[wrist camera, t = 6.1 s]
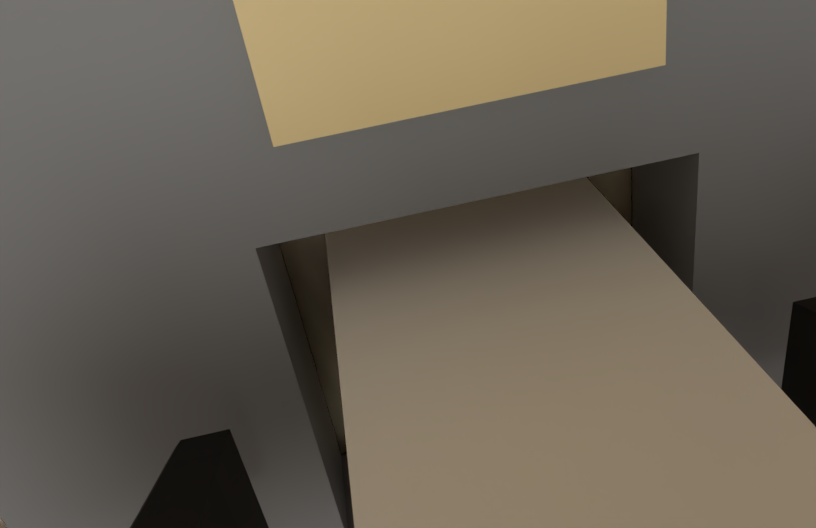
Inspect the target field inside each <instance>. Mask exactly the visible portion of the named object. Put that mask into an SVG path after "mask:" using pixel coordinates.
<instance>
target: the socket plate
mask: <svg viewBox="0 0 816 528" xmlns="http://www.w3.org/2000/svg"><path fill="white" fill-rule="evenodd" d="M631 167H632V227H633V229H634V230H635V231H636V232H637V233H638V234H639V235H640V236H641V237H642V238H643V239H644V240H645V242H646V243H647V244H648V245H649V246H650V247H651V248H652V249H653V250H654V251H655V252H656V254H657V255H658V256H659V257H660V258H661V259H662V260H663V261H664V262H665V263H666V264H667V266H668V267H669V268H670V269H671V270H672V271H673V272H674V273H675V274H676V275H677V276H678V278H679V279H680V280H681V281H682V282H683V283H684V284H685V285H686V286H687V287H688V288H689V289H690V291H691V292H692V293H693V294H694V295H695V296H696V297H697V298H698V299H699V300H700V301H701V303H702V304H703V305H704V306H705V307H706V308H707V309H708V310H709V311H710V312H711V313H712V315H713V316H714V317H715V318H716V319H717V320H718V321H719V322H720V323H721V324H722V325H723V326H724V328H725V329H726V330H727V331H728V332H729V333H730V334H731V335H732V336H733V337H734V338H735V340H736V341H737V342H738V343H739V344H740V345H741V346H742V347H743V348H744V349H745V350H746V352H747V353H748V354H749V355H750V356H751V357H752V358H753V359H754V360H755V361H756V362H757V364H758V365H759V366H760V367H761V368H762V369H763V370H764V371H765V372H766V373H767V374H768V375H769V377H770V378H771V379H772V380H773V381H774V382H775V383H776V384H777V385H778V386H779V387H780V389H781V386H782V379H783V371H784V364H785V357H786V349H787V342H788V334H789V327H790V320H791V312H792V305H793V302H795V301H799V300H804V299H808V298H813V297H816V0H0V517H1V519H2V520H3V522H4V523H5V525H6V526H7V528H130V527H131V525H132V523H133V521H134V520H135V518H136V516H137V514H138V513H139V511H140V509H141V507H142V506H143V504H144V502H145V500H146V498H147V497H148V495H149V493H150V491H151V490H152V488H153V486H154V484H155V482H156V481H157V479H158V477H159V475H160V473H161V472H162V470H163V468H164V466H165V464H166V463H167V461H168V459H169V457H170V456H171V454H172V452H173V450H174V449H175V447H176V446H177V444H178V443H179V442H180V440H183V439H188V438H192V437H196V436H201V435H205V434H210V433H214V432H219V431H223V430H227V429H230V431H231V434H232V436H233V439H234V441H235V444H236V446H237V449H238V451H239V454H240V456H241V459H242V461H243V464H244V466H245V469H246V471H247V474H248V476H249V479H250V482H251V484H252V487H253V489H254V492H255V494H256V497H257V499H258V502H259V504H260V507H261V509H262V512H263V514H264V517H265V519H266V522H267V524H268V527H269V528H354V519H353V509H352V499H351V489H350V479H349V469H348V459H347V454H345V455H341V452H340V449H339V446H338V442H337V439H336V436H335V432H334V429H333V425H332V422H331V419H330V415H329V412H328V408H327V405H326V402H325V398H324V395H323V392H322V388H321V385H320V381H319V378H318V375H317V371H316V368H315V364H314V361H313V358H312V354H311V351H310V347H309V344H308V341H307V337H306V334H305V331H304V327H303V324H302V320H301V317H300V314H299V310H298V307H297V303H296V300H295V297H294V293H293V290H292V287H291V283H290V280H289V276H288V273H287V270H286V266H285V263H284V259H283V256H282V253H281V249H280V246H279V243H282V242H287V241H292V240H296V239H301V238H306V237H310V236H315V235H319V234H324V233H329V232H333V231H338V230H343V229H347V228H352V227H357V226H361V225H366V224H371V223H375V222H380V221H385V220H389V219H394V218H398V217H403V216H408V215H412V214H417V213H422V212H426V211H431V210H436V209H440V208H445V207H450V206H454V205H459V204H464V203H468V202H473V201H477V200H482V199H487V198H491V197H496V196H501V195H505V194H510V193H515V192H519V191H524V190H529V189H533V188H538V187H542V186H547V185H552V184H556V183H561V182H566V181H570V180H575V179H580V178H584V177H589V176H594V175H598V174H603V173H608V172H612V171H617V170H621V169H626V168H631Z"/></svg>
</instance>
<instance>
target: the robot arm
mask: <svg viewBox="0 0 816 528" xmlns="http://www.w3.org/2000/svg"><path fill="white" fill-rule="evenodd" d="M781 390H782V391H783V392H784V393H785V394H786V395H787V396H788V397H789V398H790V399H791V401H792V402H793V403H794V404H795V405H796V406H797V407H798V408H799V409H800V410H801V411H802V412H803V414H804V415H805V416H806V417H807V418H808V419H809V420H810V421H811V422H812V423H813V424H814V426H815V427H816V297H813V298H808V299H804V300H799V301H795V302H793V305H792V312H791V320H790V327H789V334H788V342H787V349H786V357H785V364H784V371H783V379H782V386H781ZM130 528H269V527H268V524H267V522H266V519H265V517H264V514H263V512H262V509H261V507H260V504H259V502H258V499H257V497H256V494H255V492H254V489H253V487H252V484H251V482H250V479H249V476H248V474H247V471H246V469H245V466H244V464H243V461H242V459H241V456H240V454H239V451H238V449H237V446H236V444H235V441H234V439H233V436H232V434H231V431H230V429H227V430H223V431H219V432H214V433H210V434H205V435H201V436H196V437H192V438H188V439H183V440H180V442H179V443H178V444H177V446H176V447H175V449H174V450H173V452H172V454H171V456H170V457H169V459H168V461H167V463H166V464H165V466H164V468H163V470H162V472H161V473H160V475H159V477H158V479H157V481H156V482H155V484H154V486H153V488H152V490H151V491H150V493H149V495H148V497H147V498H146V500H145V502H144V504H143V506H142V507H141V509H140V511H139V513H138V514H137V516H136V518H135V520H134V521H133V523H132V525H131V527H130Z"/></svg>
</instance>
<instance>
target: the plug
mask: <svg viewBox="0 0 816 528" xmlns="http://www.w3.org/2000/svg"><path fill="white" fill-rule="evenodd" d="M325 238H326V248H327V258H328V268H329V278H330V288H331V298H332V308H333V319H334V329H335V339H336V349H337V359H338V369H339V379H340V389H341V399H342V409H343V419H344V429H345V439H346V449H347V459H348V469H349V479H350V489H351V499H352V509H353V519H354V528H816V427H815V426H814V424H813V423H812V422H811V421H810V420H809V419H808V418H807V417H806V416H805V415H804V414H803V412H802V411H801V410H800V409H799V408H798V407H797V406H796V405H795V404H794V403H793V402H792V401H791V399H790V398H789V397H788V396H787V395H786V394H785V393H784V392H783V391H782V390H781V389H780V387H779V386H778V385H777V384H776V383H775V382H774V381H773V380H772V379H771V378H770V377H769V375H768V374H767V373H766V372H765V371H764V370H763V369H762V368H761V367H760V366H759V365H758V364H757V362H756V361H755V360H754V359H753V358H752V357H751V356H750V355H749V354H748V353H747V352H746V350H745V349H744V348H743V347H742V346H741V345H740V344H739V343H738V342H737V341H736V340H735V338H734V337H733V336H732V335H731V334H730V333H729V332H728V331H727V330H726V329H725V328H724V326H723V325H722V324H721V323H720V322H719V321H718V320H717V319H716V318H715V317H714V316H713V315H712V313H711V312H710V311H709V310H708V309H707V308H706V307H705V306H704V305H703V304H702V303H701V301H700V300H699V299H698V298H697V297H696V296H695V295H694V294H693V293H692V292H691V291H690V289H689V288H688V287H687V286H686V285H685V284H684V283H683V282H682V281H681V280H680V279H679V278H678V276H677V275H676V274H675V273H674V272H673V271H672V270H671V269H670V268H669V267H668V266H667V264H666V263H665V262H664V261H663V260H662V259H661V258H660V257H659V256H658V255H657V254H656V252H655V251H654V250H653V249H652V248H651V247H650V246H649V245H648V244H647V243H646V242H645V240H644V239H643V238H642V237H641V236H640V235H639V234H638V233H637V232H636V231H635V230H634V229H633V227H632V226H631V225H630V224H629V223H628V222H627V221H626V220H625V219H624V218H623V217H622V215H621V214H620V213H619V212H618V211H617V210H616V209H615V208H614V207H613V206H612V205H611V203H610V202H609V201H608V200H607V199H606V198H605V197H604V196H603V195H602V194H601V193H600V192H599V190H598V189H597V188H596V187H595V186H594V185H593V184H592V183H591V182H590V181H589V180H588V178H587V177H584V178H580V179H575V180H570V181H566V182H561V183H556V184H552V185H547V186H542V187H538V188H533V189H529V190H524V191H519V192H515V193H510V194H505V195H501V196H496V197H491V198H487V199H482V200H477V201H473V202H468V203H464V204H459V205H454V206H450V207H445V208H440V209H436V210H431V211H426V212H422V213H417V214H412V215H408V216H403V217H398V218H394V219H389V220H385V221H380V222H375V223H371V224H366V225H361V226H357V227H352V228H347V229H343V230H338V231H333V232H329V233H325Z"/></svg>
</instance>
